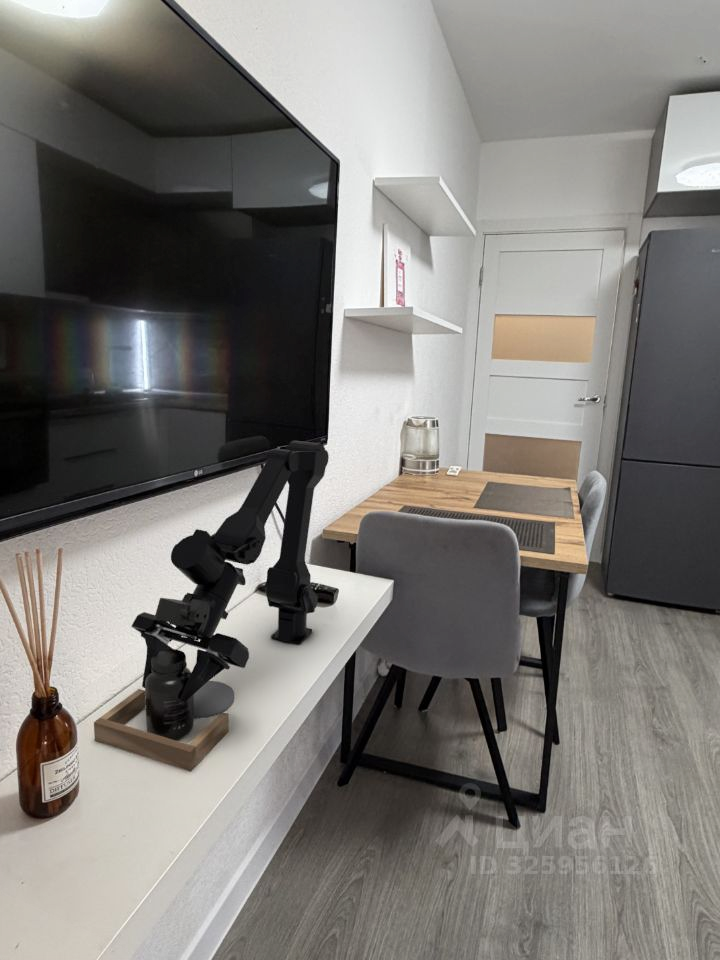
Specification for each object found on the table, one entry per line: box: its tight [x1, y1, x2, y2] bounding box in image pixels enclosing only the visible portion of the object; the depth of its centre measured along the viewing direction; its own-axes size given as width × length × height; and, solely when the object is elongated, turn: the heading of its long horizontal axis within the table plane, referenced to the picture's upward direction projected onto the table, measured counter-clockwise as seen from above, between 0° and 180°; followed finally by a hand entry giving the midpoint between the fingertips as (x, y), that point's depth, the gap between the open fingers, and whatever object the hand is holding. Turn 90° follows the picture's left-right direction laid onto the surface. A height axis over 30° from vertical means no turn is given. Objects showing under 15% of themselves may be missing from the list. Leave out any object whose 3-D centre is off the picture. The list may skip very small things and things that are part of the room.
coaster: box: [194, 680, 236, 719], centre depth 97 cm, size 10×10×1 cm
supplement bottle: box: [144, 648, 195, 741], centre depth 88 cm, size 7×7×12 cm
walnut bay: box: [93, 688, 230, 772], centre depth 88 cm, size 10×16×3 cm, turn 70°
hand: (163, 694), depth 87 cm, fingers closed on supplement bottle, 7 cm apart
